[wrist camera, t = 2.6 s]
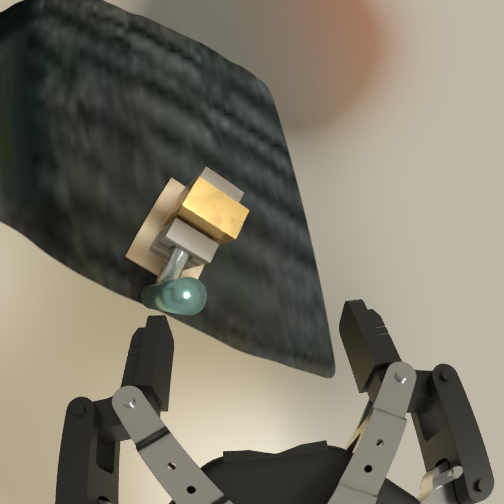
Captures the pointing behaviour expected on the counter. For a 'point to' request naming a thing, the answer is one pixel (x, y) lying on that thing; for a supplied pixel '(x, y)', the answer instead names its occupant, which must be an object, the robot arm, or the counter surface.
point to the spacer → (208, 212)
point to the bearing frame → (176, 231)
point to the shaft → (175, 288)
